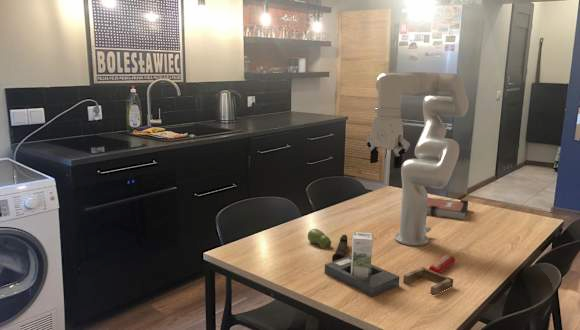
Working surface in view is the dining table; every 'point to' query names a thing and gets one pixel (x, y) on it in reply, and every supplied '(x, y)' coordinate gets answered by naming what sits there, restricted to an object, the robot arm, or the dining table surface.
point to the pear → (319, 238)
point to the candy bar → (442, 263)
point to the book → (447, 208)
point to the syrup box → (361, 255)
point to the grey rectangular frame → (370, 285)
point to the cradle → (423, 272)
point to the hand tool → (340, 249)
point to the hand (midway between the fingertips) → (385, 165)
